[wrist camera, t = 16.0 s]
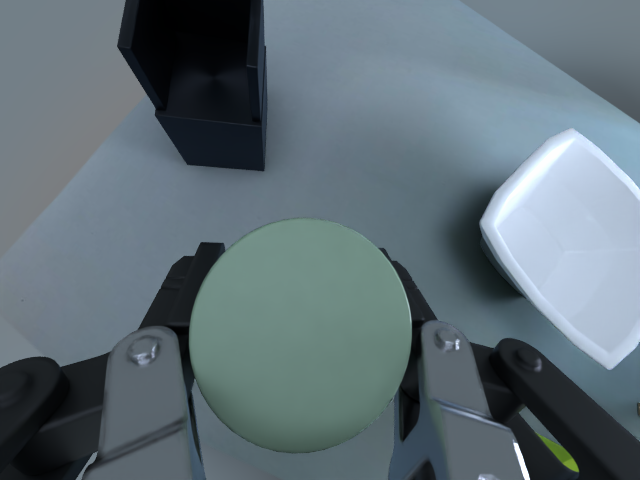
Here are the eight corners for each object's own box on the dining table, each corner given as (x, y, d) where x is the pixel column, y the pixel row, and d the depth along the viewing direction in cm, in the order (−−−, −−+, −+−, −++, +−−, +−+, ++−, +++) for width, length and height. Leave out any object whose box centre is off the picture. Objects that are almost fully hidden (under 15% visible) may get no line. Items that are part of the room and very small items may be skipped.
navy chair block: (264, 171, 33) (241, -237, 7) (187, 164, 31) (-173, -382, 6) (268, 88, 35) (260, -432, 10) (196, 78, 33) (-30, -572, 8)
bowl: (418, 239, 35) (464, 223, 26) (512, 149, 41) (572, 113, 32) (530, 368, 34) (612, 392, 26) (609, 256, 40) (695, 247, 32)
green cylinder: (236, 315, 21) (132, 379, 5) (271, 259, 22) (272, 178, 7) (292, 347, 21) (353, 502, 5) (323, 290, 22) (444, 284, 7)
